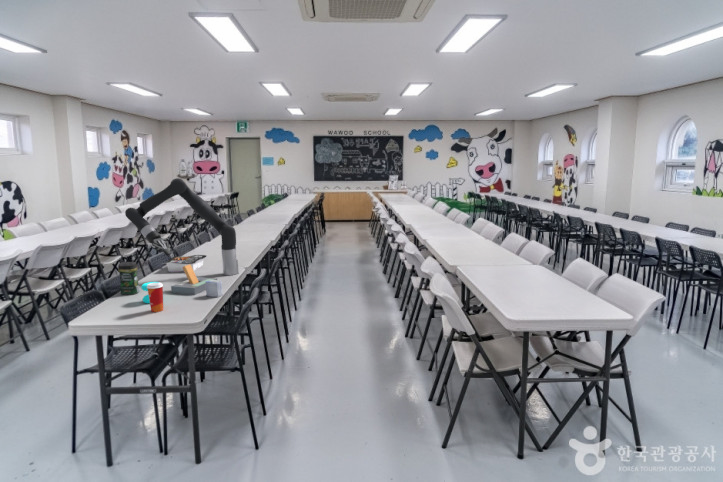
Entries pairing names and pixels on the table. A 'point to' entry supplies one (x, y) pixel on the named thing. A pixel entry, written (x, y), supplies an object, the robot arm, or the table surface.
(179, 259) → the food packaging
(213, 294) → the medicine box
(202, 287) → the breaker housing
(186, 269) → the breaker lever
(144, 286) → the donuts
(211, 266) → the table surface
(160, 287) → the paper cup
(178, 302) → the table surface
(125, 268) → the coffee jar
